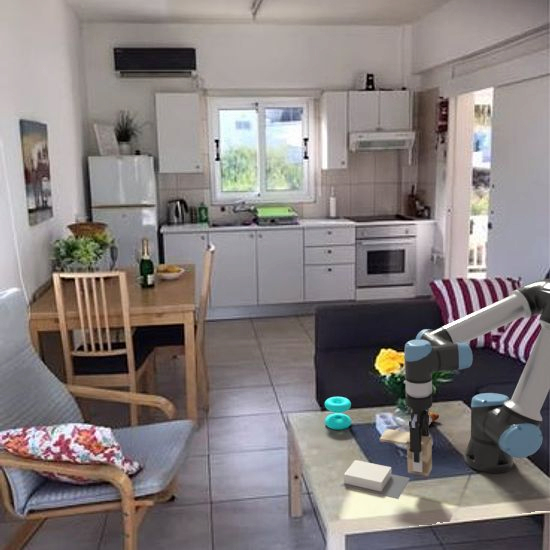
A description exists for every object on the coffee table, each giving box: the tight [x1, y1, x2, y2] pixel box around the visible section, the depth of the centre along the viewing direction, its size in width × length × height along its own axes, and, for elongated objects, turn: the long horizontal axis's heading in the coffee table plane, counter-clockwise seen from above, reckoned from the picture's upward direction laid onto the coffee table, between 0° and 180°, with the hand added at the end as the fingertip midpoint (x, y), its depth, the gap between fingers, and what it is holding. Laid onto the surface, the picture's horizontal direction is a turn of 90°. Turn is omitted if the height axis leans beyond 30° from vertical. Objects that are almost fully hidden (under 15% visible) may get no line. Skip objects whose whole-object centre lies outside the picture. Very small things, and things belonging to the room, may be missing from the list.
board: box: [340, 473, 411, 500], centre depth 190 cm, size 18×13×1 cm
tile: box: [343, 459, 392, 491], centre depth 191 cm, size 3×10×12 cm
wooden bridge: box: [379, 428, 433, 477], centre depth 184 cm, size 14×7×10 cm, turn 62°
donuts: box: [324, 396, 352, 431], centre depth 233 cm, size 10×10×10 cm
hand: (420, 466), depth 183 cm, fingers closed on wooden bridge, 5 cm apart
